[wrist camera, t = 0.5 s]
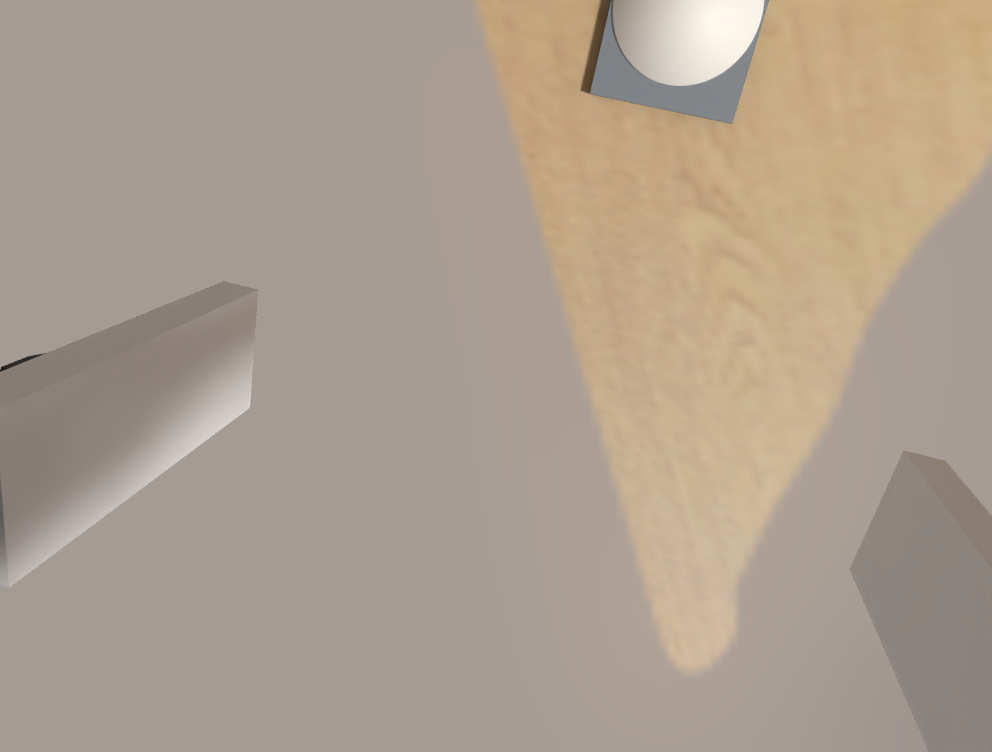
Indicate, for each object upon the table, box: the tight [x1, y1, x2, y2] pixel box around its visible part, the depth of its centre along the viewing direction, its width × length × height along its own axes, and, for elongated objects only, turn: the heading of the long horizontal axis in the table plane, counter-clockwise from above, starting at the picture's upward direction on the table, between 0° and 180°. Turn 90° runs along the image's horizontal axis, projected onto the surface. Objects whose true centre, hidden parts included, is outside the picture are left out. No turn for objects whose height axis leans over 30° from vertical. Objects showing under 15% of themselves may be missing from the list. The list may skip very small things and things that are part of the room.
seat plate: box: [590, 0, 769, 124], centre depth 34 cm, size 9×7×1 cm
